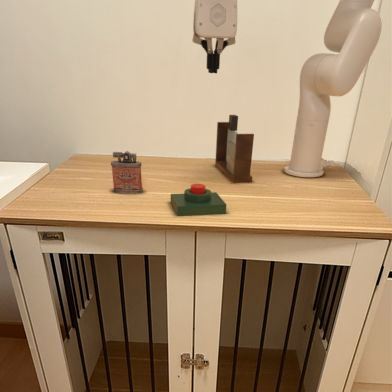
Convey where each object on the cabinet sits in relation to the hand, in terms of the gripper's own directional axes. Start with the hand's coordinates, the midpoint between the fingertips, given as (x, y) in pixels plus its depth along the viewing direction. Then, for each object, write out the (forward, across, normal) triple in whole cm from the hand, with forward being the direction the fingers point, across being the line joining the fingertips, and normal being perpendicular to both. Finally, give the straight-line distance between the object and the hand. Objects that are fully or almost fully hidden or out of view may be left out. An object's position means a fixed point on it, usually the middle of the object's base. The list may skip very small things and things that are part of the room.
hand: (212, 72), depth 105 cm
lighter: (+27, -24, -6) cm, 37 cm away
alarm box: (+27, -8, -22) cm, 36 cm away
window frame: (+27, +11, +10) cm, 31 cm away
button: (+24, -8, -22) cm, 33 cm away
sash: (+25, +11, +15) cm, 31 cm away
